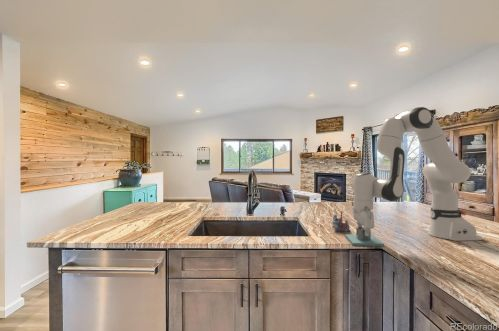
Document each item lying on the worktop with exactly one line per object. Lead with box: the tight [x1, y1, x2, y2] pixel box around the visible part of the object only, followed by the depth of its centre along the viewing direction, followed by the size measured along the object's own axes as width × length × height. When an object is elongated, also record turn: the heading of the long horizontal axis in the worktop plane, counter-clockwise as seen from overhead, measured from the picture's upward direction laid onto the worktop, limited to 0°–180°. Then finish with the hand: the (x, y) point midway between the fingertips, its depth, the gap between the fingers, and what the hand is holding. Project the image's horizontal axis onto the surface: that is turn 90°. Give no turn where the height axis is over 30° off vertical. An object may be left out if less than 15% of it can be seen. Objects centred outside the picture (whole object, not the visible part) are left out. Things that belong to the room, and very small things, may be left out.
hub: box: [355, 226, 372, 241], centre depth 128 cm, size 6×6×5 cm
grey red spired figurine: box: [331, 211, 350, 233], centre depth 149 cm, size 11×11×12 cm
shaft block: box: [344, 228, 385, 247], centre depth 128 cm, size 14×14×6 cm
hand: (363, 233), depth 128 cm, fingers open, 8 cm apart
